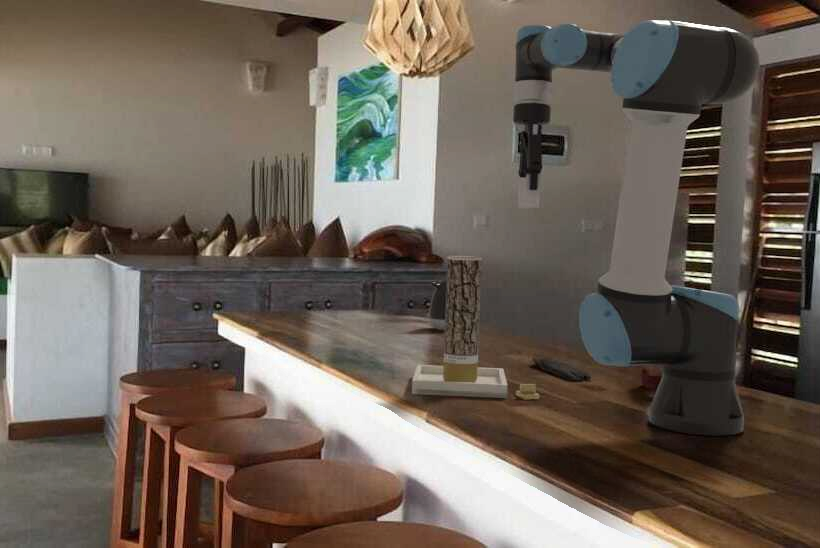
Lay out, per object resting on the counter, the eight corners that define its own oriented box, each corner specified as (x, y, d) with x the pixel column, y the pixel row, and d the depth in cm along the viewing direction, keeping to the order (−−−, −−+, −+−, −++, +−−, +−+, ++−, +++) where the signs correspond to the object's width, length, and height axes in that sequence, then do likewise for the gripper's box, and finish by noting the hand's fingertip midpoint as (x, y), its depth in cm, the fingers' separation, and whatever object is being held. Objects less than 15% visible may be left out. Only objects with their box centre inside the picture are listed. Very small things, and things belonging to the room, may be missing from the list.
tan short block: (539, 400, 162) (539, 386, 162) (524, 401, 161) (525, 386, 161) (530, 396, 166) (530, 382, 166) (515, 396, 165) (516, 382, 165)
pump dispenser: (421, 327, 261) (423, 277, 260) (452, 326, 265) (453, 277, 264) (436, 332, 251) (438, 280, 250) (468, 331, 256) (469, 280, 255)
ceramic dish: (506, 398, 162) (507, 385, 162) (411, 393, 163) (412, 380, 163) (502, 380, 180) (503, 368, 179) (417, 376, 181) (417, 364, 181)
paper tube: (474, 386, 167) (479, 258, 165) (440, 383, 168) (444, 256, 167) (478, 380, 174) (483, 256, 172) (445, 377, 175) (450, 255, 173)
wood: (603, 383, 182) (604, 369, 182) (572, 384, 180) (573, 369, 180) (553, 365, 203) (553, 352, 203) (525, 366, 201) (525, 353, 201)
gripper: (559, 95, 164) (554, 207, 165) (542, 112, 189) (538, 208, 190) (520, 94, 164) (515, 206, 165) (508, 111, 189) (504, 207, 190)
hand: (528, 207), depth 178 cm, fingers open, 13 cm apart
